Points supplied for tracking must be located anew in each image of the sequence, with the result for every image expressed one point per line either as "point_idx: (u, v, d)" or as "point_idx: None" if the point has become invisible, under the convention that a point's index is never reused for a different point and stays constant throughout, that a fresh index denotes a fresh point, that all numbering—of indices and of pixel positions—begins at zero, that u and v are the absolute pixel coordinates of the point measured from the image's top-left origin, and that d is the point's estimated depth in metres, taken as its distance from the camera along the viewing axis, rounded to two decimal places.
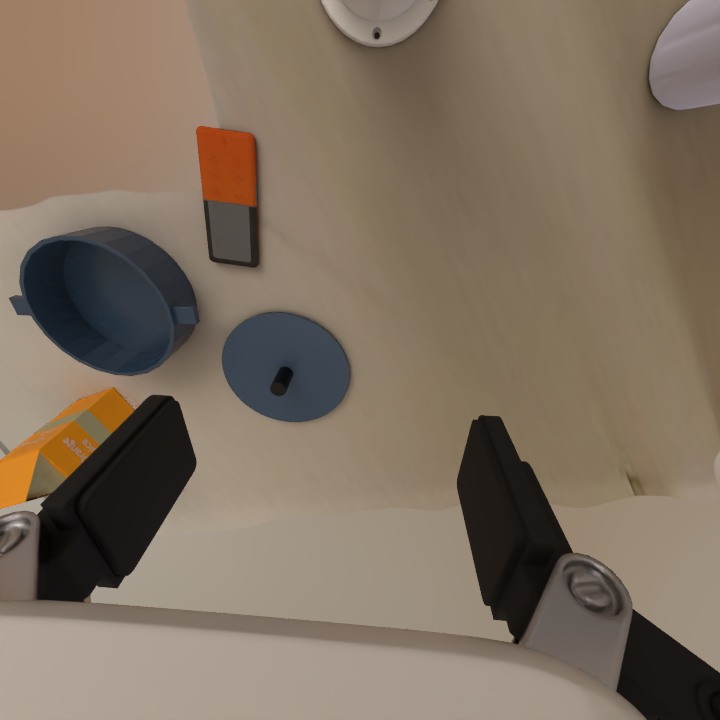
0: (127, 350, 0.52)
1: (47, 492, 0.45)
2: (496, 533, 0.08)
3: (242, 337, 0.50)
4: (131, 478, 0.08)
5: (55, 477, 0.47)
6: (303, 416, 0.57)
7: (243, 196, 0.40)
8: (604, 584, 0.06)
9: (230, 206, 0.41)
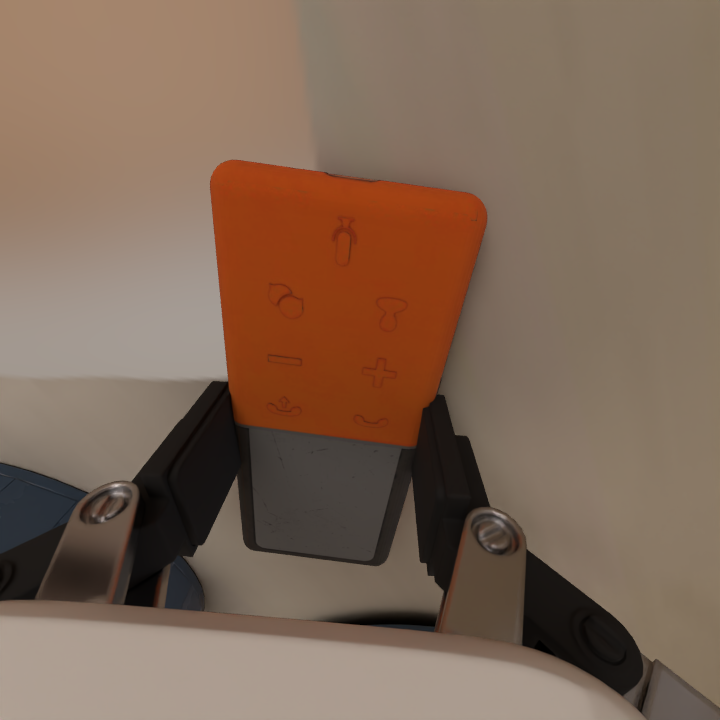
0: None
1: None
2: (427, 495, 0.09)
3: None
4: (205, 455, 0.09)
5: None
6: None
7: (387, 420, 0.10)
8: (503, 528, 0.07)
9: (333, 444, 0.11)
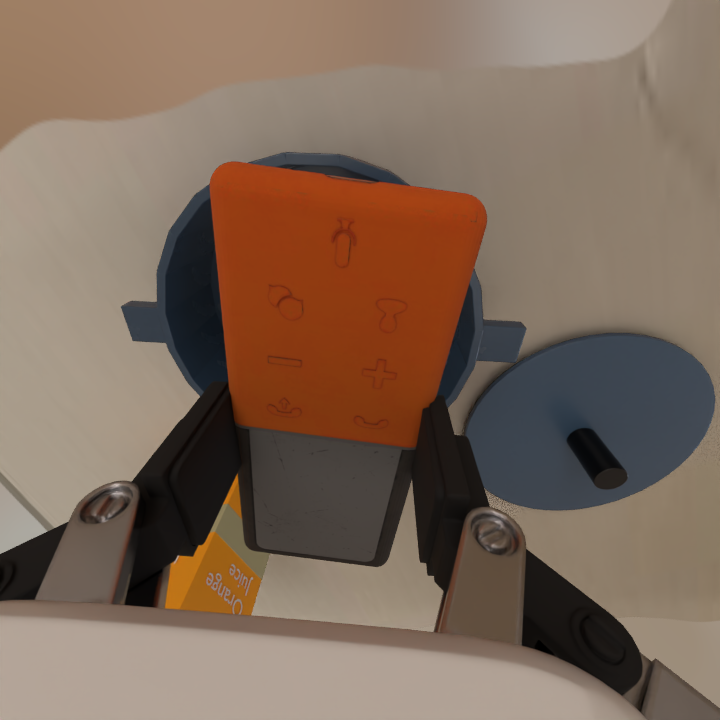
0: None
1: None
2: (427, 495, 0.09)
3: (530, 378, 0.27)
4: (205, 455, 0.09)
5: None
6: (573, 503, 0.34)
7: (387, 421, 0.10)
8: (503, 527, 0.07)
9: (333, 445, 0.11)
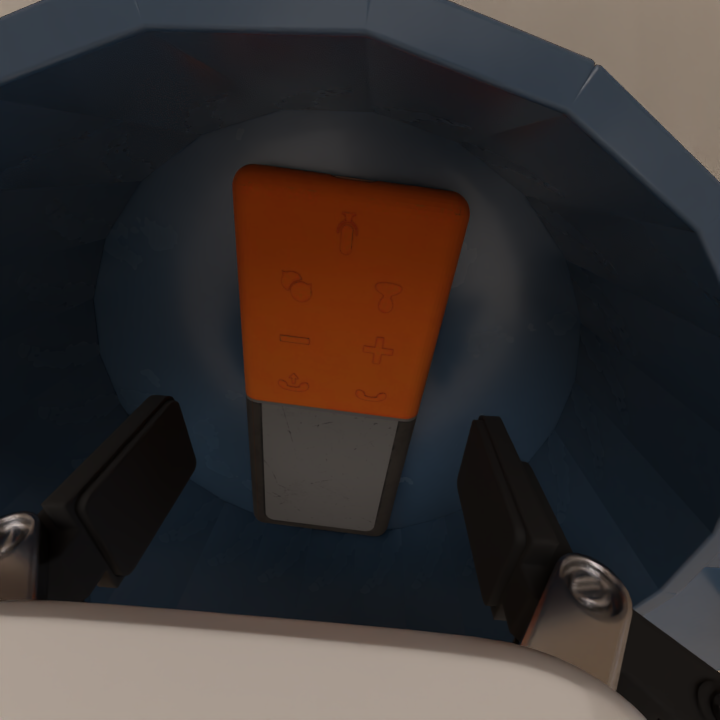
0: (280, 531, 0.17)
1: None
2: (496, 533, 0.08)
3: None
4: (131, 478, 0.08)
5: None
6: None
7: (386, 394, 0.12)
8: (604, 584, 0.06)
9: (336, 418, 0.12)
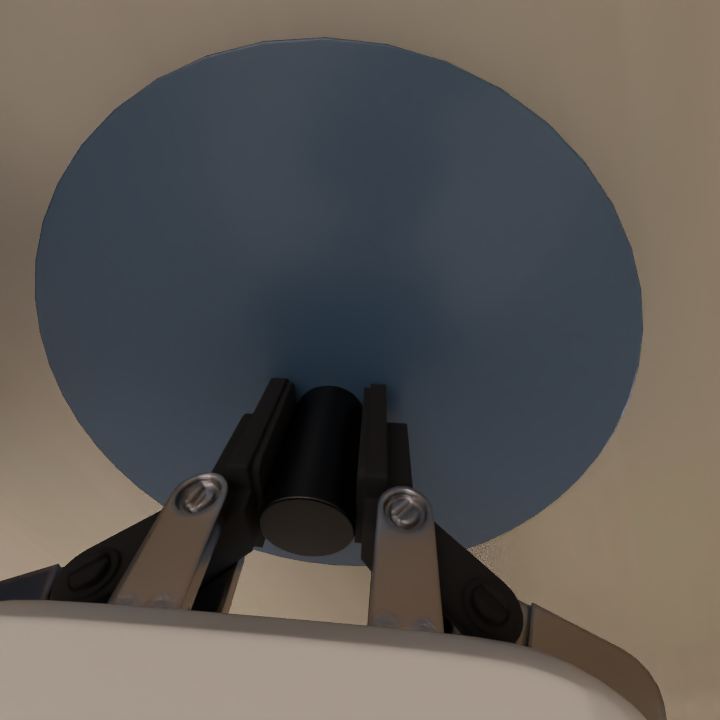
0: None
1: None
2: None
3: (111, 233, 0.09)
4: (275, 449, 0.09)
5: None
6: None
7: None
8: (412, 501, 0.08)
9: None
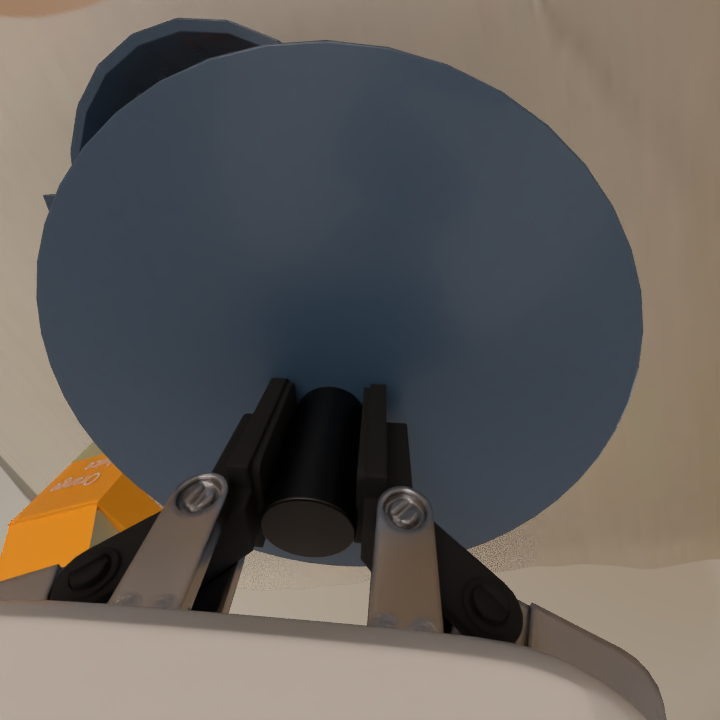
0: None
1: None
2: None
3: (113, 235, 0.09)
4: (275, 449, 0.09)
5: None
6: None
7: None
8: (412, 501, 0.08)
9: None
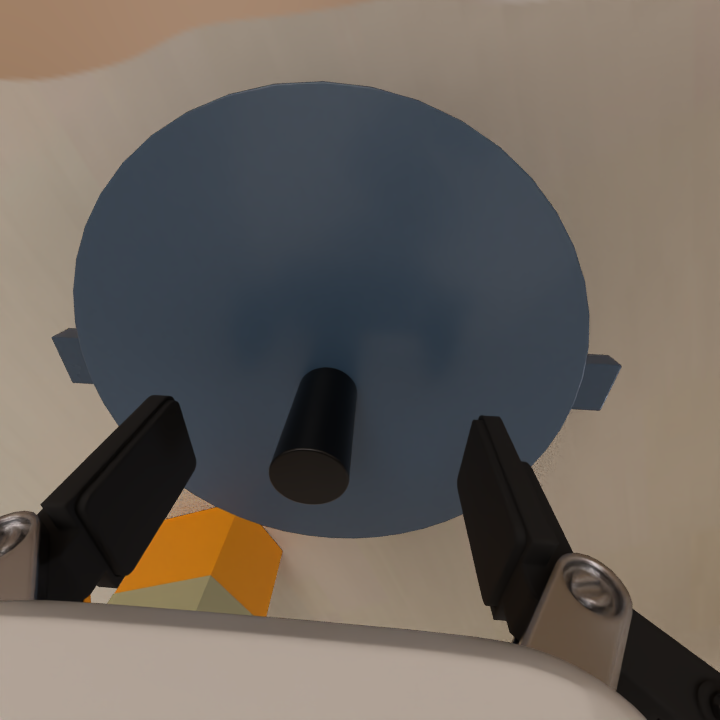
0: None
1: None
2: (496, 533, 0.08)
3: (143, 236, 0.11)
4: (131, 478, 0.08)
5: None
6: (373, 526, 0.18)
7: None
8: (604, 584, 0.06)
9: None
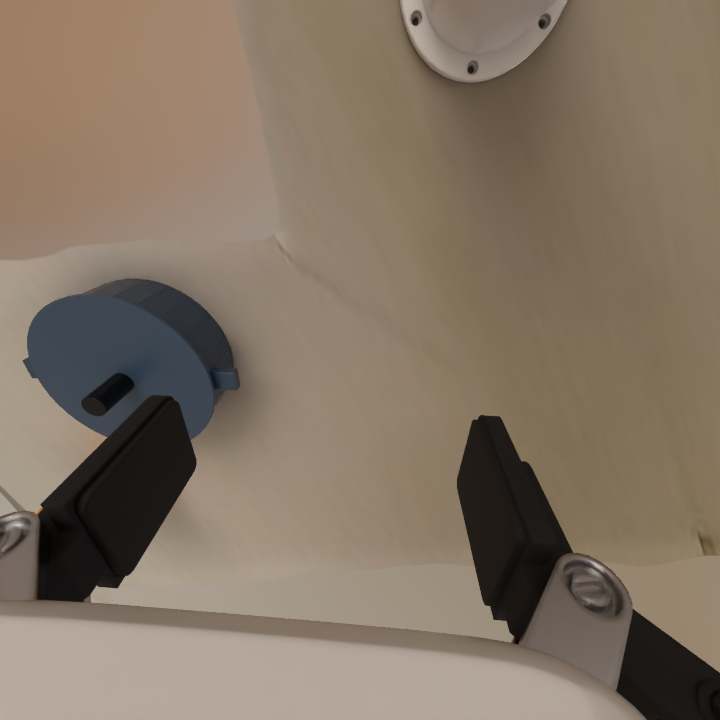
0: None
1: None
2: (496, 533, 0.08)
3: (47, 331, 0.34)
4: (131, 478, 0.08)
5: None
6: None
7: None
8: (604, 584, 0.06)
9: None
